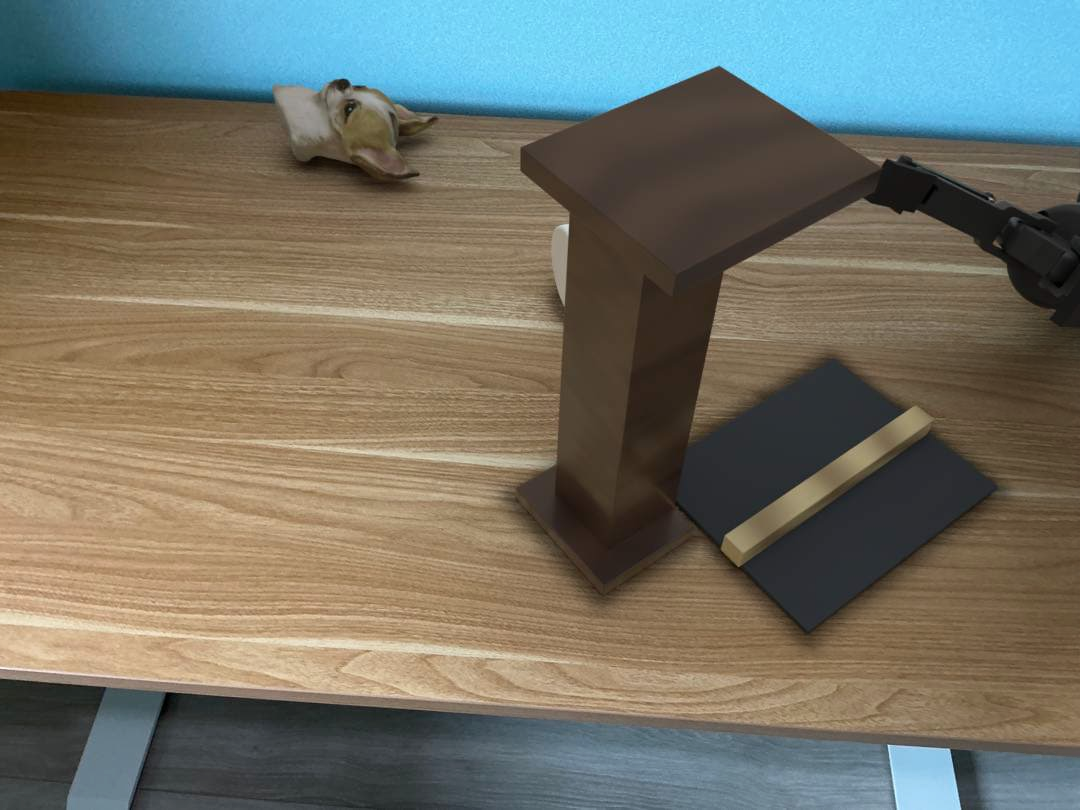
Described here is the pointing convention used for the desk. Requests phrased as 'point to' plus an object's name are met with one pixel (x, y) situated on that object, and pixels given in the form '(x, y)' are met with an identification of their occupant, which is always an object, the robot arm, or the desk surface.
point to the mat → (848, 521)
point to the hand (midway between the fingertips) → (968, 238)
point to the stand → (660, 291)
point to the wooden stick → (825, 486)
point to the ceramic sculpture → (349, 126)
